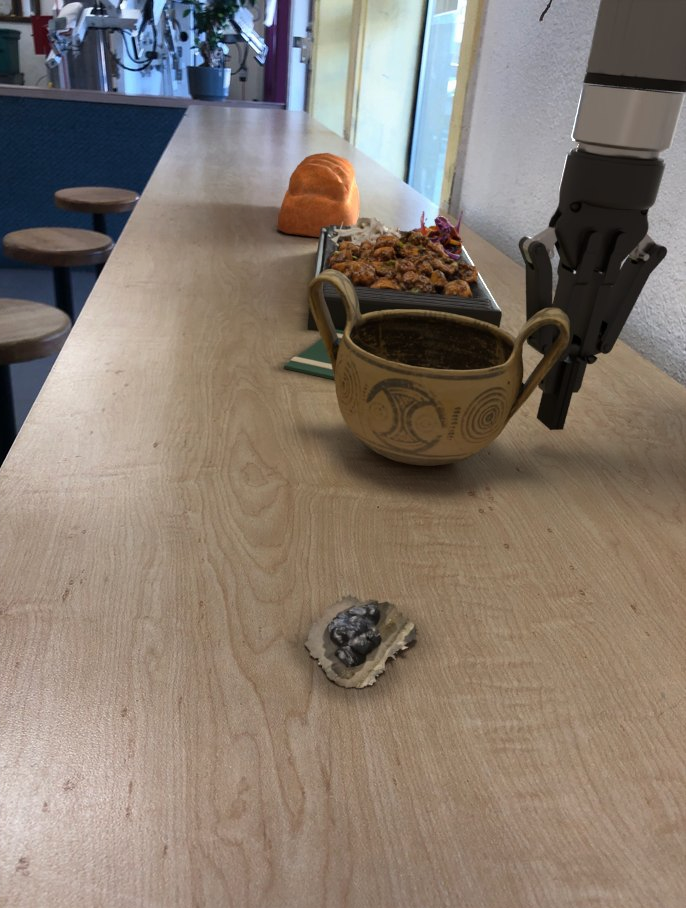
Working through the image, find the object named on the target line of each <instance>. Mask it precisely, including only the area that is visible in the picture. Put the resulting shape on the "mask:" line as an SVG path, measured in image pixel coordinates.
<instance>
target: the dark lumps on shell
mask: <svg viewBox="0 0 686 908" xmlns="http://www.w3.org/2000/svg"><path fill="white" fill-rule="evenodd" d="M323 612H324V613H323V614H322V615H321V617H320V616H317V618H316V620H317V622H313V624H312V625H310V628H309V630H308V635H307V640H306V641H305V642H304V646H305V647H306V648H307V650H308V651H309V656H310V657H312V658H313V659H317V661H318V663H317V665H318V666H319V665H320V666H322V667H321V669H322V670H323V672H325V674H326V677H327V678H328V679H329V680H330V681H334V684H335V685H336V686H337V685H338V686H339V687H344V688H345V689H350V688H355V689H363V688H365V687H367V686H373V684H374V683H376V682H377V679H376V677H379V675H381V674H383V673H384V671H385V672H386V671H387V670H386V669H387V668H386V662H387V660H388V657H391V658H392V659H394V661H397V659H396V655H395V654H397V652H398V651H399V650H402V651H403V650H405V649H408V648H409V646H407V644H409V643H412V642H413V640H417V639H418V637H417V636H418V635H419V633H418V629H417V627H416V624H414V622H412V620H410V618H407V617H406V618H405V617H404V616H403V612H402V611H398V607H397V606H396V605H395V603H390V602H389V601H383V602H379V600H377V599H373V598H372V599H370V598H368V600H366V599H365V601H361V600H360V599H359V598H357V596H352V594H351V593H349V594H348V595H347V596H345V595H343V596H341V600H339V601H338V600H337V601H335V602H334V603H332V604H331V605H329V606H327V607H326V608H324V609H323Z"/></svg>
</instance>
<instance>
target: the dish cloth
mask: <svg viewBox="0 0 686 908" xmlns="http://www.w3.org/2000/svg"><path fill="white" fill-rule="evenodd" d="M335 330H336V333H337V336H338V339H339V342H341V339H342V337H343V333H344V331H342V330H337V329H335ZM283 369H284V370H288V371H293V372H298V373H301V374H302V373H303V374H307V375H310V376H315V377H319V378H323V379H324V378H325V379H329V380H333V381H335V379H334V374H333V369H332V365H331V361H330V359H329V356H328V354H327V351H326V349H325V346H324V343H323V340H322V338H320V339H318V341H315V342H314V343H313V344H312V345H311V346H309V347H308V348H306V349H304V350H303V351H301V352H300V353H299V354H298V355H296V356H294V357H292V358H291V359H290V360H289V361H288V362H287V363H285V364H284V365H283Z"/></svg>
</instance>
